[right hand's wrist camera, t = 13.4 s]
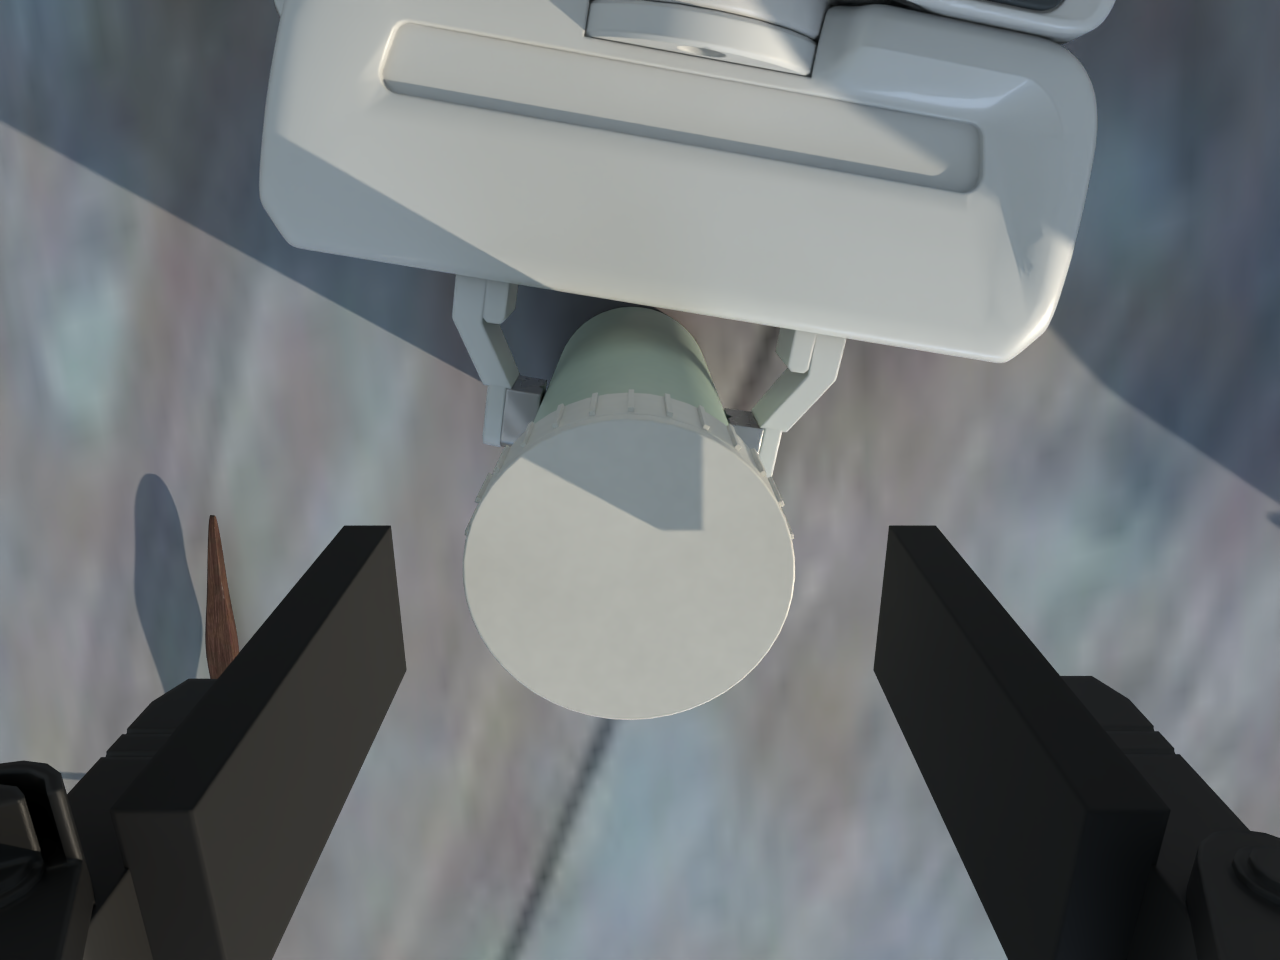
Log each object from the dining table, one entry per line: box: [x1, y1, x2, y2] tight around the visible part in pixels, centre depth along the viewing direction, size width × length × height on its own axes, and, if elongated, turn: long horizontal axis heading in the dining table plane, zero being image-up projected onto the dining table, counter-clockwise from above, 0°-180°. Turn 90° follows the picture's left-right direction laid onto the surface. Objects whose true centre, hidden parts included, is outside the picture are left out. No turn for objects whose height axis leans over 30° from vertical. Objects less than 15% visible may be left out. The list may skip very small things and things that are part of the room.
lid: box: [463, 389, 795, 720], centre depth 16 cm, size 6×6×2 cm
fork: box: [205, 515, 239, 679], centre depth 33 cm, size 3×16×2 cm, turn 174°
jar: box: [533, 307, 728, 426], centre depth 23 cm, size 5×5×15 cm
